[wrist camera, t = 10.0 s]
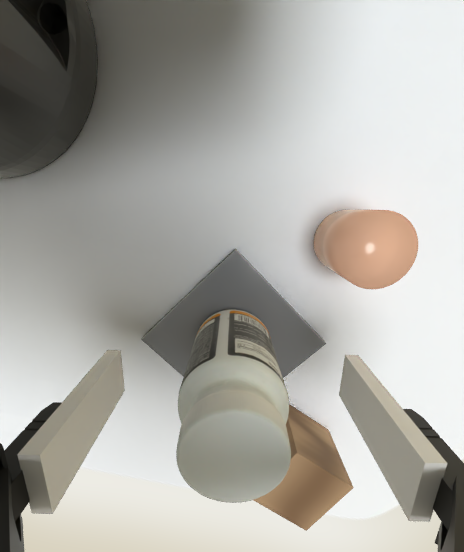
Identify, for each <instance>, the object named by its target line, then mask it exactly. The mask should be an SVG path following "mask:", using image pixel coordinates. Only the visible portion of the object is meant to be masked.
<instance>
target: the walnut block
mask: <svg viewBox="0 0 464 552" xmlns="http://www.w3.org/2000/svg"><path fill="white" fill-rule="evenodd" d="M286 428H287V433H288V438H289V443H290V448H291V461H290V466H289V469H288V471H287V474H286V475H285V477H284V479H283V480H282V481H281V483H280V484H279V485H278V486H277V487H276V488H274V489H273V490H272V491H271V492H269V493H267V494H266V495H264V496H261V497H259V498H257V499H254V501H256V502H258V503H259V504H261V505H263V506H264V507H266V508H268V509H270V510H271V511H273V512H275V513H277V514H278V515H280V516H282V517H284V518H285V519H287V520H289V521H291V522H292V523H294V524H296V525H298V526H299V527H301V528H303V529H304V530H308V529H309V528H310V527H311V526H312V525H313V524H314V523H315V522H316V521H317V520H319V519H320V518H321V517H322V516H323V515H324V514H325V513H326V512H327V511H328V510H330V509H331V508H332V507H333V506H334V505H335V504H336V503H337V502H338V501H339V500H341V499H342V498H343V497H344V496H345V495H346V494H347V493H348V492H349V491H350V490H352V489H353V486H352V483H351V481H350V479H349V476H348V474H347V472H346V469H345V467H344V465H343V462H342V460H341V458H340V455H339V453H338V451H337V449H336V446H335V444H334V442H333V439H332V437H331V435H330V432H329V430H328V429H326V428H325V427H323V426H322V425H320V424H319V423H317V422H316V421H314V420H313V419H311V418H310V417H308V416H306V415H305V414H303V413H302V412H300V411H299V410H297V409H296V408H294V407H293V406H291V405H290V404H289V414H288V419H287V423H286Z"/></svg>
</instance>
